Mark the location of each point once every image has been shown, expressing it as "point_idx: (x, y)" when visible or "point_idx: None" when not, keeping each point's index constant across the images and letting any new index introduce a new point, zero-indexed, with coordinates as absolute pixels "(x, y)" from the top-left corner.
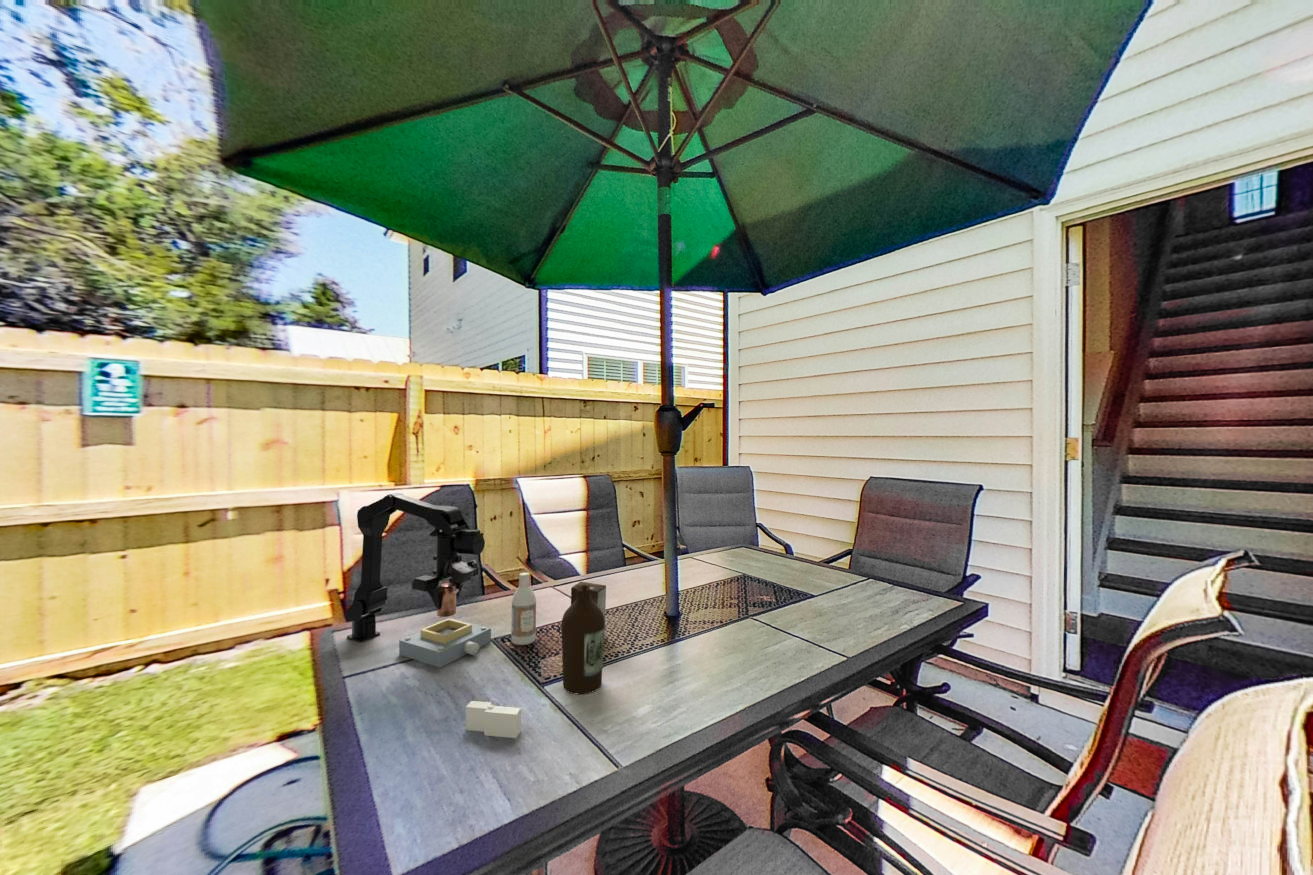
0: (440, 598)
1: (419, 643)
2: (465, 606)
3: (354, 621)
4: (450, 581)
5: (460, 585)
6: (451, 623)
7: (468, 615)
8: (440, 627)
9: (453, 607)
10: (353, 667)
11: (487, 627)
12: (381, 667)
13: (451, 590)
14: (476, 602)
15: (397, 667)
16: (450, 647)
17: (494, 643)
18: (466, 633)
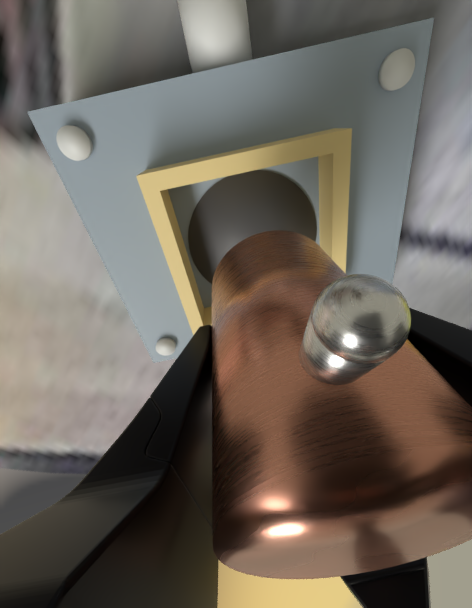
0: (456, 342)
1: (380, 235)
2: (55, 443)
3: None
4: (211, 594)
5: (135, 480)
6: (198, 300)
7: (68, 394)
8: None
9: (271, 255)
10: (469, 302)
11: (45, 146)
12: (450, 246)
13: (389, 387)
14: (16, 449)
15: (436, 205)
16: (354, 36)
17: (56, 74)
18: (183, 162)
